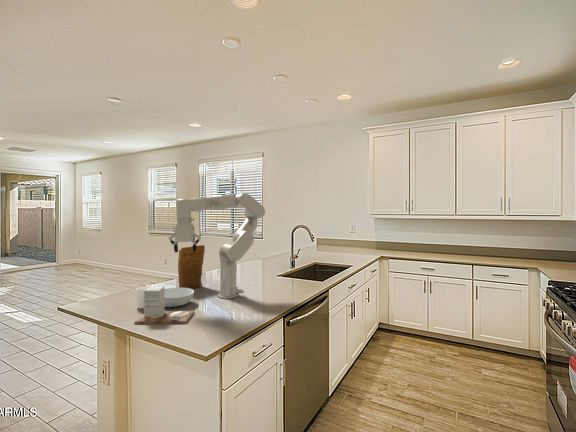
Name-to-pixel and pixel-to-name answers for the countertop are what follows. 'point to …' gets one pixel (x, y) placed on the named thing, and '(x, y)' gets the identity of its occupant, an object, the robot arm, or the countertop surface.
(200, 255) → the pancake mix bag
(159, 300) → the supplement box
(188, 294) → the serving bowl
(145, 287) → the white cup
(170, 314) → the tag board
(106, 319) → the countertop surface
